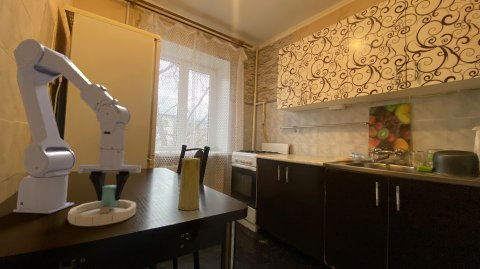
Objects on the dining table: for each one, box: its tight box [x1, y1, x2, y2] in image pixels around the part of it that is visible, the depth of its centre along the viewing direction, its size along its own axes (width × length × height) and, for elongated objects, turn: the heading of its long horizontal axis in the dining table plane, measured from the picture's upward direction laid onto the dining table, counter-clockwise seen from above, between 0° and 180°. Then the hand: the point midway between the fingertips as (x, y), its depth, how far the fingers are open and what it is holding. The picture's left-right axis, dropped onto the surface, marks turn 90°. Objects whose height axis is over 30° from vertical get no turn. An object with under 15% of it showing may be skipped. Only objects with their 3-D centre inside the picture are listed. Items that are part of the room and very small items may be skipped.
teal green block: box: [101, 184, 117, 207], centre depth 56 cm, size 4×4×5 cm
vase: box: [177, 157, 201, 212], centre depth 62 cm, size 6×6×14 cm
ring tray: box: [67, 199, 137, 227], centre depth 53 cm, size 14×14×2 cm
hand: (109, 200), depth 56 cm, fingers closed on teal green block, 3 cm apart
